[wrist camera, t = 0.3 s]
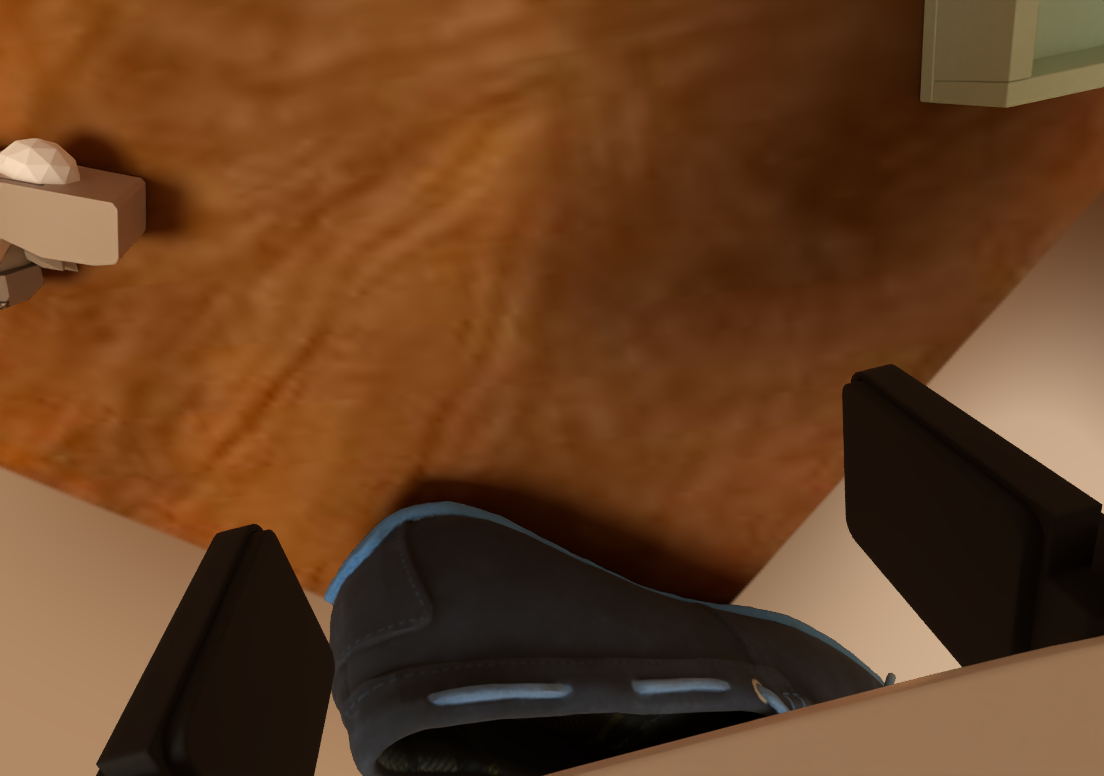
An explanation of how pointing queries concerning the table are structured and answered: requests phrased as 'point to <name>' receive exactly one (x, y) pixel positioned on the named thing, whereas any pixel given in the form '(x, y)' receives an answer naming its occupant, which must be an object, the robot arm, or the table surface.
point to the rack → (1010, 50)
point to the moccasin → (545, 654)
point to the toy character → (60, 216)
